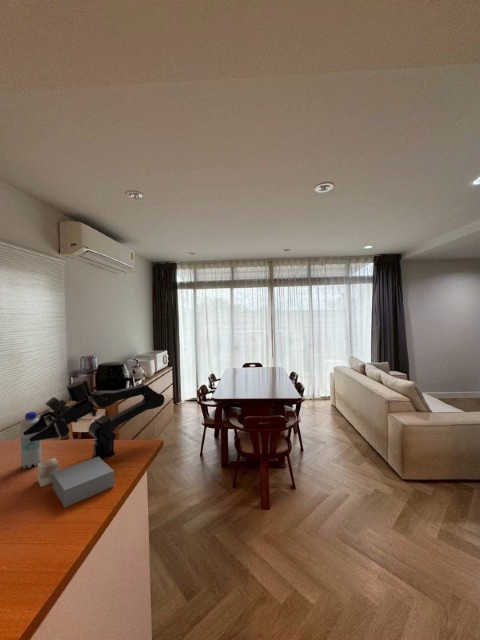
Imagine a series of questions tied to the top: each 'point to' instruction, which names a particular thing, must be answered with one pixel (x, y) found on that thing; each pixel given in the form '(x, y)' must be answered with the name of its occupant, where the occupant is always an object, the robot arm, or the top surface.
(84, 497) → the plinth
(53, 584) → the top surface
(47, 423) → the robot arm
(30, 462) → the bottle
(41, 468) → the cream block
